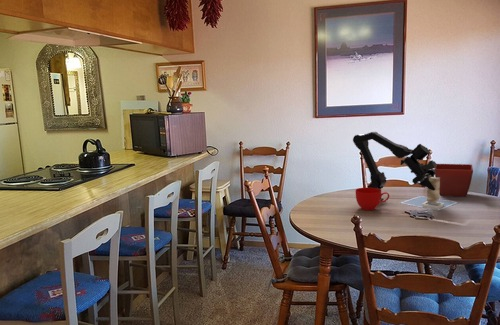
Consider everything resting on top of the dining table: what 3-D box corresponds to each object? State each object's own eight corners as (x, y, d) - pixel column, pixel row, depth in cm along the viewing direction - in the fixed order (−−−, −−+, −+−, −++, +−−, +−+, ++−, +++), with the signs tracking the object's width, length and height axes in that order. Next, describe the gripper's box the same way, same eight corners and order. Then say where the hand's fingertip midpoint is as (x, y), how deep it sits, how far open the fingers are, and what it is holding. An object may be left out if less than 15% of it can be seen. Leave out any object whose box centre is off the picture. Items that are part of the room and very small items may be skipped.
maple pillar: (426, 201, 200) (427, 178, 199) (430, 199, 204) (430, 176, 202) (436, 202, 197) (436, 179, 195) (439, 200, 200) (439, 177, 199)
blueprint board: (438, 212, 193) (438, 210, 192) (398, 204, 210) (398, 202, 210) (459, 204, 206) (459, 202, 205) (420, 197, 223) (420, 195, 223)
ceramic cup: (391, 212, 197) (391, 193, 195) (356, 212, 200) (356, 193, 198) (387, 205, 209) (387, 187, 208) (354, 205, 213) (354, 187, 211)
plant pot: (433, 197, 221) (434, 168, 219) (435, 190, 238) (435, 163, 235) (472, 200, 212) (473, 170, 210) (471, 192, 229) (472, 164, 227)
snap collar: (421, 206, 201) (422, 204, 200) (427, 203, 206) (427, 200, 206) (438, 209, 195) (438, 206, 195) (444, 205, 201) (444, 202, 201)
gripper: (419, 158, 193) (442, 182, 187) (432, 153, 206) (454, 176, 200) (403, 172, 200) (424, 196, 194) (417, 167, 213) (437, 189, 207)
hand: (436, 189), depth 198 cm, fingers closed on maple pillar, 4 cm apart
